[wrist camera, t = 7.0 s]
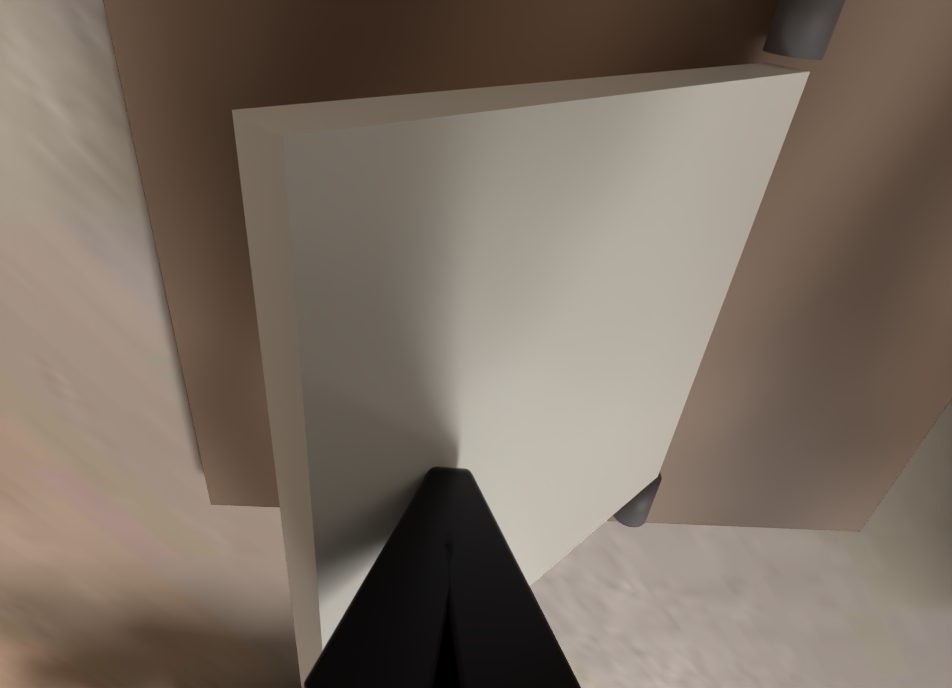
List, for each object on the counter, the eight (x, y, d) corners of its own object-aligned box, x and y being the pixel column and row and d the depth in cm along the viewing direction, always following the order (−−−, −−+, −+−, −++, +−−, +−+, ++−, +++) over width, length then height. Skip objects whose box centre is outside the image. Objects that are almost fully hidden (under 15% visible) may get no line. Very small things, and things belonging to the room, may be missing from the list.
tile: (281, 135, 4) (220, 103, 5) (330, 756, 10) (298, 708, 10) (810, 71, 10) (755, 60, 11) (657, 476, 16) (626, 455, 17)
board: (1233, -83, 11) (1372, -86, 9) (846, 511, 20) (882, 564, 18) (78, -239, 9) (-4, -278, 8) (220, 483, 18) (196, 538, 17)
